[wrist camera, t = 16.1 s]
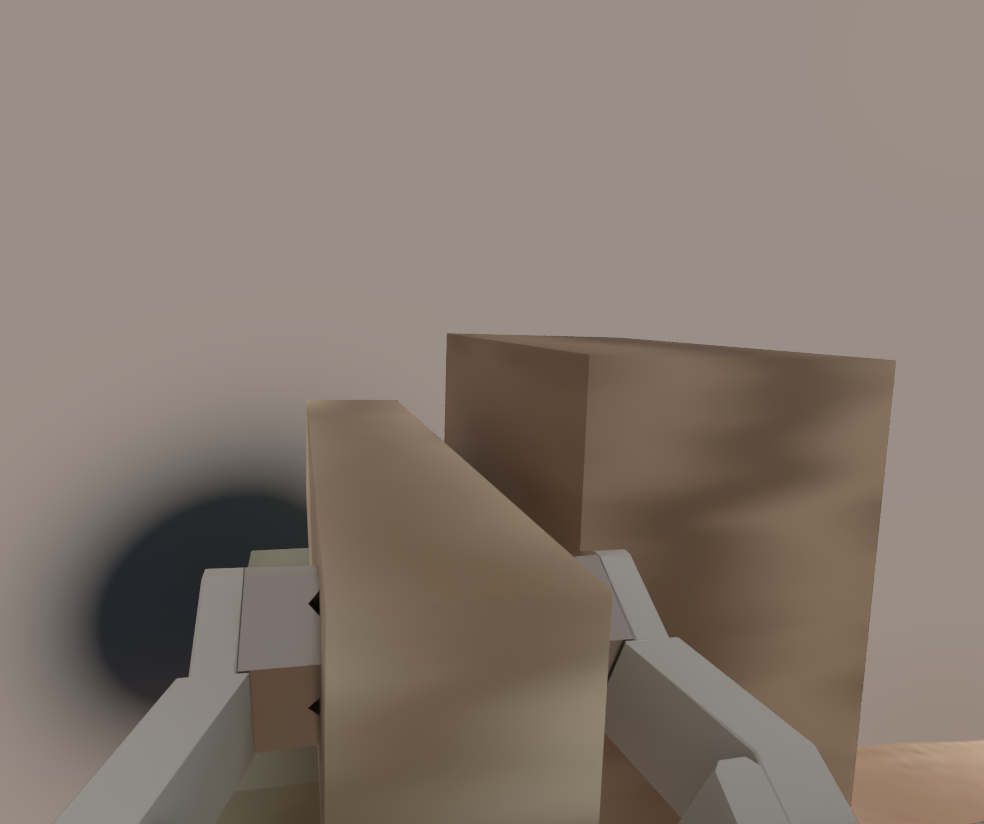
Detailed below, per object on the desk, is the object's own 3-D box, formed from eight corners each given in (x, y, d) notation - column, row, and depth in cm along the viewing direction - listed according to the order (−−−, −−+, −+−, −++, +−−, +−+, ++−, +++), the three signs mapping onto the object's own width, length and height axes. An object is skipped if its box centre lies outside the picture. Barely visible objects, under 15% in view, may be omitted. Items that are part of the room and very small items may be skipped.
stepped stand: (589, 929, 32) (620, 337, 29) (794, 1367, 19) (896, 360, 16) (256, 994, 29) (249, 328, 26) (218, 1587, 15) (193, 347, 12)
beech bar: (395, 485, 26) (397, 400, 25) (597, 848, 8) (612, 591, 8) (306, 488, 25) (306, 399, 24) (324, 891, 7) (326, 608, 7)
